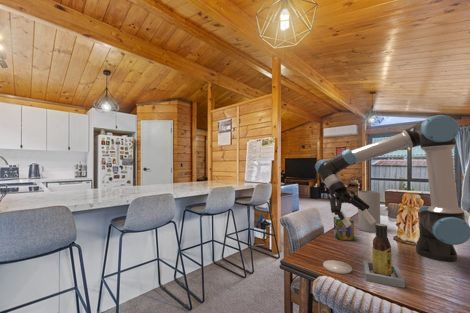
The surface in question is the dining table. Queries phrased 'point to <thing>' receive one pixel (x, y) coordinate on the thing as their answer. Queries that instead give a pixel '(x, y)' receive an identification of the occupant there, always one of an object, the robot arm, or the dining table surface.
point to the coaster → (337, 267)
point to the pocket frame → (384, 279)
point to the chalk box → (343, 229)
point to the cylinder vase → (374, 202)
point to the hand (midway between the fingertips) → (361, 224)
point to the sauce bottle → (382, 252)
